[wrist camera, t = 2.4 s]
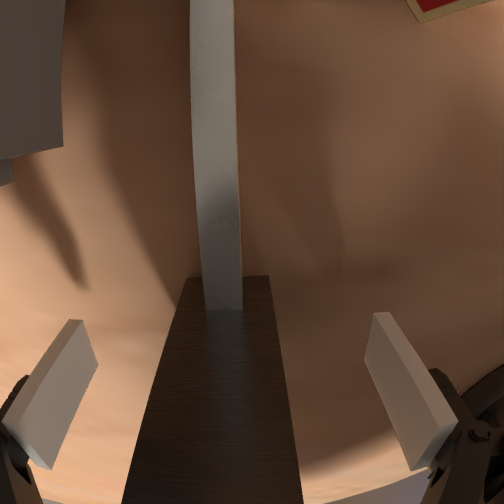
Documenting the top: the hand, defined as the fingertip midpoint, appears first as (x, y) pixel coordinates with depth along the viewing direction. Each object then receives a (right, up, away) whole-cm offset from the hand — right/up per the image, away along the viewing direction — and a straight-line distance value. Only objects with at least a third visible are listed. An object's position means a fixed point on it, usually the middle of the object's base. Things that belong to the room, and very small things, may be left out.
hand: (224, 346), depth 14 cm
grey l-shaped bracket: (0, +8, 0) cm, 8 cm away
